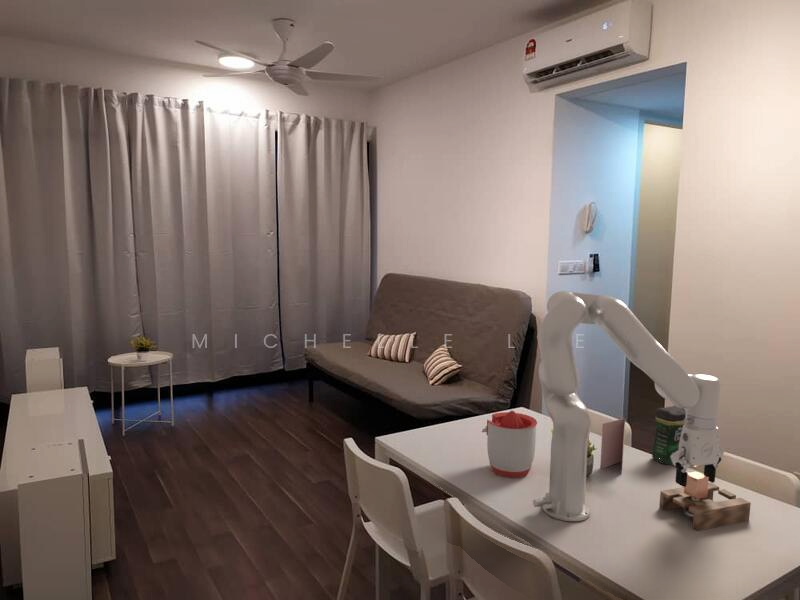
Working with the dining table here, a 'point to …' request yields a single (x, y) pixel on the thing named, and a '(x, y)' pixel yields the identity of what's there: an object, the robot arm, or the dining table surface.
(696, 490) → the keyhole peg
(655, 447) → the coffee jar
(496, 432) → the citrus juicer
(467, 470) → the dining table surface
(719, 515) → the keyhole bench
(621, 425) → the greeting card
